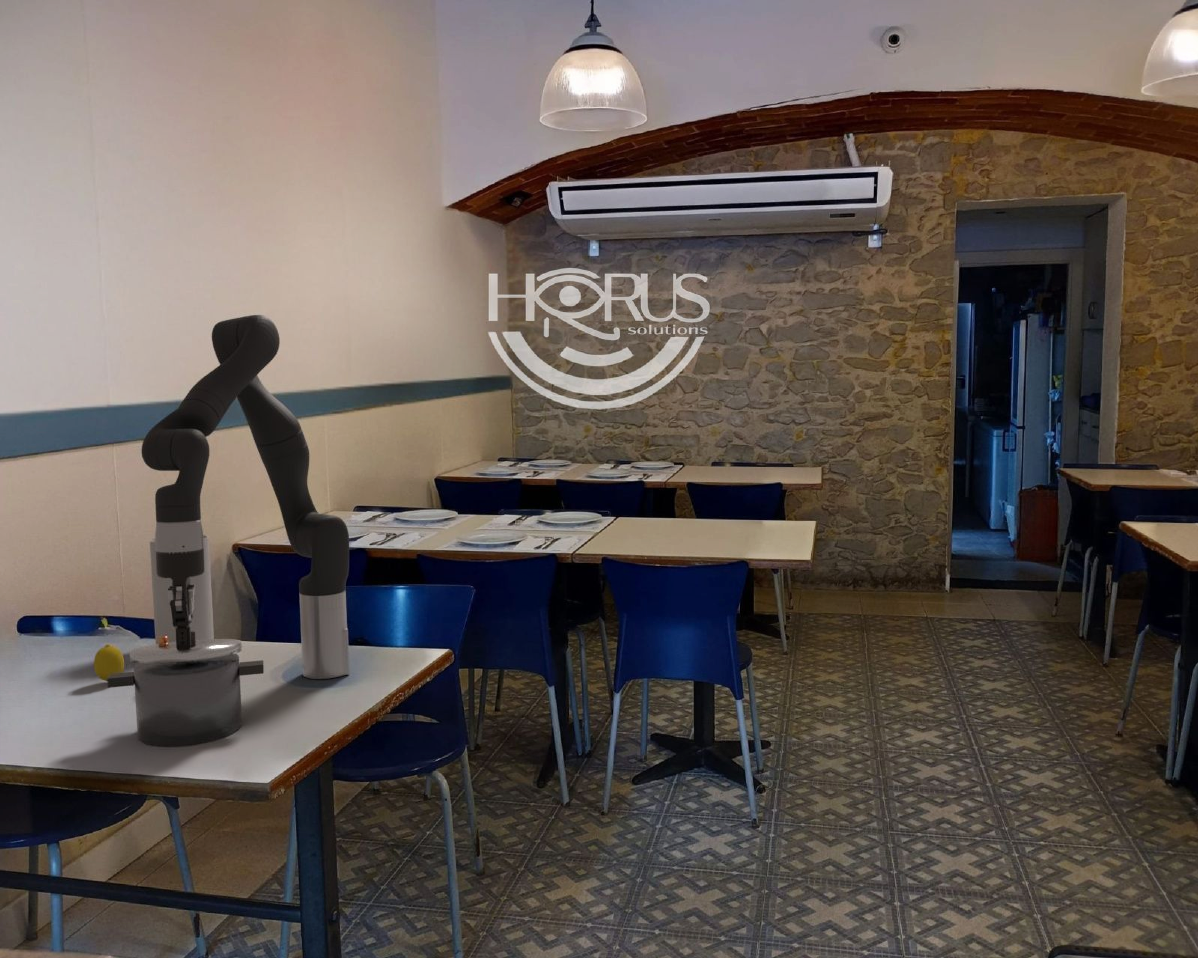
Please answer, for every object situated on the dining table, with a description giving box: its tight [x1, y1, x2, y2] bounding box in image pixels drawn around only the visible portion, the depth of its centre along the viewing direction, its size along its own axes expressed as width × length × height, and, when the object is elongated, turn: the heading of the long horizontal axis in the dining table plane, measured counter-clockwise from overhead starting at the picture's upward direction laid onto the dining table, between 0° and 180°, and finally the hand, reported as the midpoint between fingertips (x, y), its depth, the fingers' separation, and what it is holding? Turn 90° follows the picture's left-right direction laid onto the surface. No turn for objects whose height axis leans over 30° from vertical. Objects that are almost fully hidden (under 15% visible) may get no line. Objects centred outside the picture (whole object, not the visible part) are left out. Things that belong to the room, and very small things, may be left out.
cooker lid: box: [129, 631, 243, 664], centre depth 179 cm, size 18×18×4 cm
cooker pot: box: [107, 653, 265, 748], centre depth 181 cm, size 25×18×12 cm
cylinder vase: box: [149, 534, 215, 644], centre depth 238 cm, size 12×12×25 cm
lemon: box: [93, 643, 125, 683], centre depth 209 cm, size 6×6×8 cm
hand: (183, 648), depth 175 cm, fingers closed
